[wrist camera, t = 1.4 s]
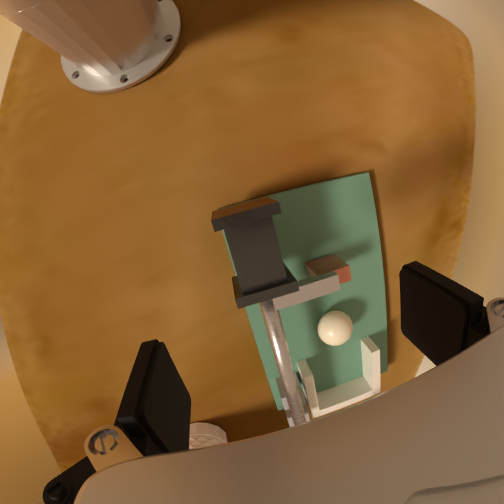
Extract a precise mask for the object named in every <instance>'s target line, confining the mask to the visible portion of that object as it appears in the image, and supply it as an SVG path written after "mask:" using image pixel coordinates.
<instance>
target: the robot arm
mask: <svg viewBox="0 0 504 504" xmlns="http://www.w3.org/2000/svg"><path fill="white" fill-rule="evenodd" d="M0 14H1V15H3V16H4V17H5V18H7V19H8V20H10V21H12V22H13V23H15V24H16V25H18V26H20V27H21V28H22V29H24V30H25V31H27V32H28V33H30V34H31V35H33V36H34V37H36V38H37V39H39V40H40V41H42V42H43V43H45V44H46V45H48V46H49V47H50V48H52V49H53V50H55V51H56V52H58V53H59V54H61V63H62V68H63V70H64V72H65V74H66V76H67V78H68V79H69V80H70V81H71V82H72V83H73V84H75V85H76V86H78V87H80V88H82V89H84V90H86V91H89V92H94V93H112V92H117V91H121V90H124V89H127V88H130V87H132V86H134V85H136V84H138V83H140V82H142V81H144V80H145V79H147V78H148V77H150V76H151V75H152V74H154V73H155V72H156V71H157V70H158V69H159V68H160V67H161V66H162V65H163V64H164V63H165V62H166V61H167V59H168V58H169V57H170V56H171V54H172V52H173V51H174V49H175V47H176V45H177V42H178V40H179V37H180V31H181V21H180V15H179V12H178V9H177V7H176V5H175V4H174V2H173V1H172V0H0ZM169 40H172V41H170V42H168V41H169ZM78 76H79V77H78ZM126 79H128V81H127V82H125V80H126ZM124 82H125V83H124ZM399 276H400V300H401V330H402V333H403V334H404V335H405V336H406V337H407V338H408V339H409V340H410V341H411V342H412V343H413V344H414V345H415V346H416V347H417V348H418V349H419V350H420V351H421V352H422V353H423V354H425V355H426V356H427V357H428V358H429V359H430V360H431V361H432V362H433V363H434V364H435V365H436V367H434V368H432V369H431V370H429V371H427V372H425V373H423V374H421V375H419V376H417V377H415V378H413V379H411V380H409V381H407V382H405V383H403V384H401V385H399V386H397V387H395V388H393V389H391V390H388V391H386V392H384V393H382V394H380V395H377V396H375V397H373V398H370V399H368V400H366V401H363V402H361V403H358V404H356V405H353V406H351V407H348V408H346V409H343V410H340V411H338V412H335V413H332V414H329V415H327V416H324V417H321V418H318V419H315V420H312V421H309V422H306V423H303V424H299V425H296V426H293V427H289V428H286V429H283V430H279V431H275V432H272V433H268V434H264V435H260V436H256V437H252V438H248V439H243V440H239V441H234V442H229V443H224V444H219V445H213V446H208V447H202V448H195V449H189V436H190V415H191V398H190V395H189V392H188V391H187V389H186V387H185V385H184V383H183V381H182V379H181V377H180V375H179V373H178V371H177V369H176V367H175V365H174V363H173V361H172V359H171V357H170V355H169V353H168V350H167V348H166V346H165V344H164V343H163V342H159V341H158V340H157V339H155V340H151V341H146V342H142V344H141V346H140V349H139V352H138V355H137V357H136V360H135V363H134V366H133V369H132V371H131V374H130V377H129V380H128V383H127V386H126V389H125V392H124V395H123V398H122V401H121V404H120V407H119V410H118V414H117V417H116V420H115V423H114V426H113V425H107V426H103V427H100V428H98V429H96V430H94V431H93V432H92V433H91V434H90V435H89V436H88V437H87V439H86V441H85V446H84V449H85V452H86V454H87V456H86V457H85V458H83V459H82V460H81V461H79V462H78V463H76V464H75V465H73V466H72V467H70V468H69V469H67V470H66V471H64V472H63V473H61V474H60V475H59V476H57V477H55V478H54V479H53V480H51V481H50V482H49V483H48V484H47V485H46V487H45V488H44V491H43V500H44V504H504V298H495V299H493V300H491V301H490V302H488V304H487V306H486V307H484V306H483V301H484V298H483V297H481V296H480V295H478V294H476V293H474V292H473V291H471V290H469V289H467V288H465V287H464V286H462V285H460V284H458V283H457V282H455V281H453V280H451V279H449V278H447V277H446V276H444V275H442V274H440V273H438V272H436V271H434V270H432V269H431V268H429V267H427V266H425V265H423V264H421V263H419V262H417V261H414V262H411V263H409V264H406V265H404V266H403V267H402V270H401V271H400V274H399ZM38 504H40V503H38Z"/></svg>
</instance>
